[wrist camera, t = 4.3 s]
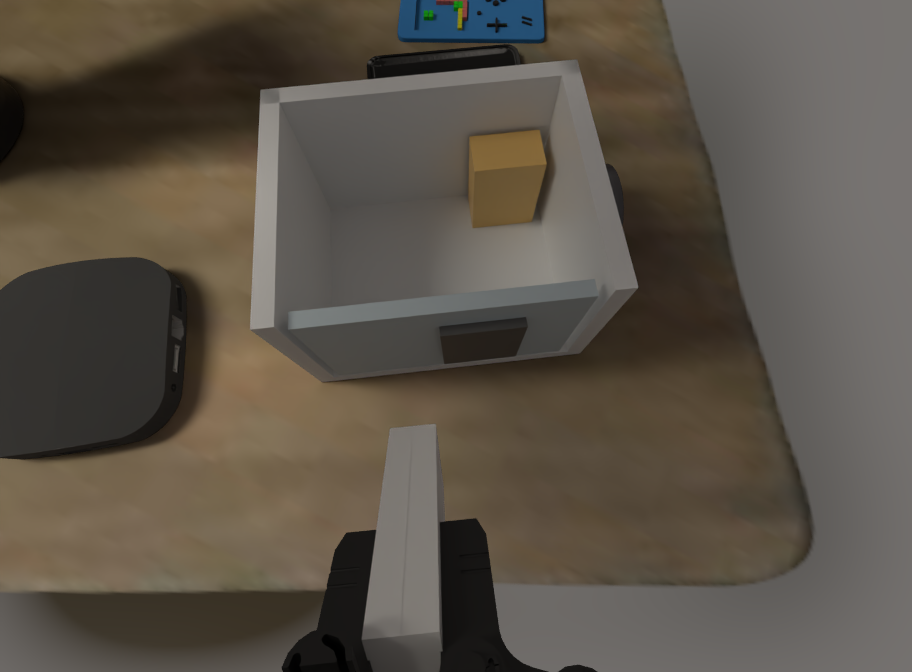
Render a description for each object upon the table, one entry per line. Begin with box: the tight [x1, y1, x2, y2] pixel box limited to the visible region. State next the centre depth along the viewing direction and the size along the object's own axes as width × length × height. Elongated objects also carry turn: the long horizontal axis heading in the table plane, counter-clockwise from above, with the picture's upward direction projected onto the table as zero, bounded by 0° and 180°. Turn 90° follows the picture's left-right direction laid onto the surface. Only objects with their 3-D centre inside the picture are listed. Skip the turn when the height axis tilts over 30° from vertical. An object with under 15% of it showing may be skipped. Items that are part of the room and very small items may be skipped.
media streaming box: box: [0, 257, 186, 459], centre depth 33 cm, size 15×15×3 cm
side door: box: [288, 279, 599, 375], centre depth 28 cm, size 2×16×10 cm, turn 96°
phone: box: [367, 44, 521, 79], centre depth 43 cm, size 8×1×15 cm
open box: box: [250, 60, 639, 382], centre depth 31 cm, size 16×22×12 cm
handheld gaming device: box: [398, 0, 545, 43], centre depth 46 cm, size 8×1×15 cm
